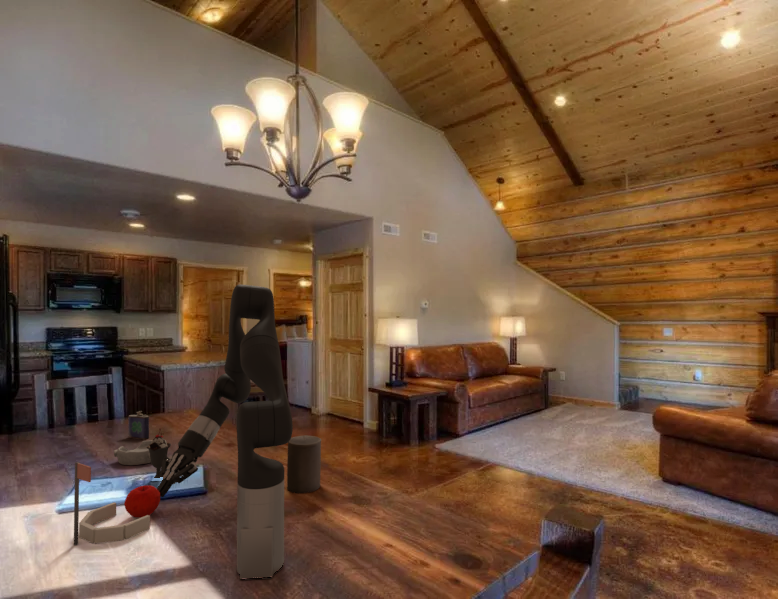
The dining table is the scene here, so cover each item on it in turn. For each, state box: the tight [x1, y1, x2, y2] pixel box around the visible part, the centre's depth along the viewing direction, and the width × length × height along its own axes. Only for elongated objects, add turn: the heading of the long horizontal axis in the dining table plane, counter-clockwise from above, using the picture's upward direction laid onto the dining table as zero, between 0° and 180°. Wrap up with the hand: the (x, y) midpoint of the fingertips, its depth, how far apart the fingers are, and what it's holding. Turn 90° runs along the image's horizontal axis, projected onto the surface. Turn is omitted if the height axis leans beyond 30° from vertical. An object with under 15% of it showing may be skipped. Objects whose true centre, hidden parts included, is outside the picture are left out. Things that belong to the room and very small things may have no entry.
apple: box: [123, 484, 161, 519], centre depth 112 cm, size 8×8×7 cm
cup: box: [73, 461, 151, 546], centre depth 104 cm, size 13×15×18 cm
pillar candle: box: [286, 434, 322, 494], centre depth 131 cm, size 10×10×15 cm
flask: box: [127, 410, 150, 440], centre depth 180 cm, size 9×3×11 cm, turn 76°
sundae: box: [147, 427, 172, 478], centre depth 136 cm, size 7×7×15 cm
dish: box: [113, 439, 153, 466], centre depth 154 cm, size 14×14×5 cm
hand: (158, 495), depth 115 cm, fingers closed
